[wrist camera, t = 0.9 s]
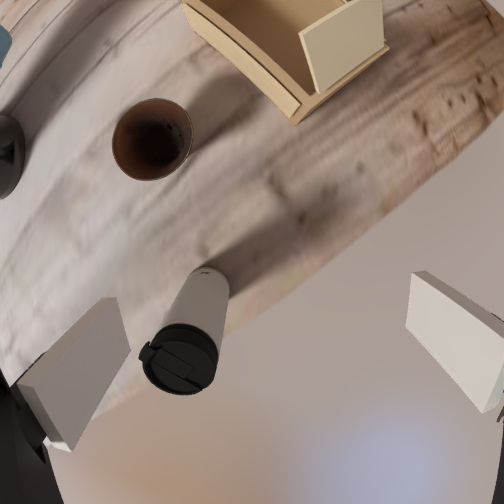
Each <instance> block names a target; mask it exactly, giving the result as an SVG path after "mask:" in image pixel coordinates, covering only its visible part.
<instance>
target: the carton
mask: <svg viewBox="0 0 504 504" xmlns="http://www.w3.org/2000/svg"><path fill="white" fill-rule="evenodd" d="M182 2H183V4H182V5H181V6H182V8H183V11H184V13H185V15H186V18H187V20H188V22H189V25H190V27H191V29H193V30H194V32H195V33H197V34H198V35H199V36H200V37H202V38H203V39H204V40H205V41H206V42H208V43H209V44H210V45H211V46H212V47H214V48H215V49H216V50H217V51H218V52H219V53H220V54H222V55H223V56H224V57H225V58H226V59H227V60H228V61H230V62H231V63H232V64H233V65H234V66H235V67H236V68H237V69H238V70H239V71H241V72H242V73H243V74H244V75H245V76H246V77H247V78H248V79H249V80H250V81H251V82H252V83H253V84H254V85H255V86H256V87H257V88H259V89H260V90H261V91H262V92H263V93H264V94H265V95H266V96H267V97H268V98H269V99H270V100H271V101H272V102H273V103H274V104H275V105H276V106H277V107H278V108H279V109H280V110H281V112H282V113H283V114H284V115H285V116H286V117H287V118H288V119H289V120H290V121H291V122H292V123H293V124H294V125H295V126H296V125H297V124H298V123H299V122H300V121H302V120H303V119H304V118H305V117H306V116H308V115H309V114H310V113H311V112H313V111H314V110H315V109H316V108H317V107H319V106H320V105H321V104H322V103H324V102H325V101H326V100H327V99H328V98H330V97H331V96H332V95H334V94H335V93H336V92H337V91H339V90H340V89H341V88H342V87H344V86H345V85H346V84H347V83H349V82H350V81H351V80H353V79H354V78H355V77H357V76H358V75H359V74H360V73H362V72H363V71H364V70H365V69H366V68H367V67H369V66H370V65H371V64H372V63H373V62H375V61H376V60H377V59H378V58H379V57H380V56H382V55H383V54H384V53H385V52H386V51H388V50H389V49H390V48H389V47H388V46H387V44H386V43H385V41H386V39H385V37H384V47H383V48H381V49H380V50H379V51H377V52H376V53H374V54H373V55H372V56H370V57H369V58H367V59H366V60H365V61H363V62H362V63H361V64H359V65H358V66H356V67H355V68H354V69H352V70H351V71H350V72H348V73H347V74H346V75H344V76H343V77H342V78H341V79H339V80H338V81H337V82H335V83H334V84H333V85H331V86H330V87H329V88H328V89H326V90H325V91H324V92H323V93H321V94H319V93H317V92H316V89H315V85H314V82H313V78H312V75H311V72H310V68H309V65H308V62H307V59H306V55H305V52H304V49H303V46H302V43H301V40H300V37H299V34H298V33H299V32H301V31H302V30H304V29H305V28H307V27H308V26H310V25H311V24H313V23H315V22H316V21H318V20H319V19H321V18H323V17H324V16H326V15H328V14H329V13H331V12H333V11H334V10H336V9H338V8H339V7H341V6H343V5H345V4H346V3H348V2H347V1H346V0H182Z"/></svg>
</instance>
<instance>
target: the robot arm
mask: <svg viewBox="0 0 504 504" xmlns="http://www.w3.org/2000/svg"><path fill="white" fill-rule="evenodd" d="M11 44H12V37H11V35H10V33H9V32H8V31H7V30H6V29H5V28H4V27H3V26H1V25H0V69H1V67H2V63H3V61H4V59H5V57H6V55H7V53H8V51H9V49H10V47H11ZM24 157H25V141H24V135H23V131H22V128H21V126H20V124H19V123H18V121H17V120H16V119H14V118H13V117H10V116H5V115H0V200H1V199H4V198H5V197H7V196H8V195H9V194H10V193H11V192H12V191H13V189H14V188H15V186H16V184H17V182H18V180H19V178H20V175H21V172H22V168H23V164H24ZM406 328H407V329H408V330H409V331H410V332H411V333H412V334H413V335H414V336H415V337H416V338H417V339H418V341H419V342H420V343H421V344H422V345H423V346H424V347H425V348H426V349H427V350H428V351H429V352H430V354H431V355H432V356H433V357H434V358H435V359H436V360H437V361H438V362H439V364H440V365H441V366H442V367H443V368H444V369H445V371H446V372H447V373H448V374H449V375H450V376H451V377H452V378H453V380H454V381H455V382H456V383H457V384H458V385H459V387H460V388H461V389H462V390H463V391H464V392H465V394H466V395H467V396H468V397H469V398H470V400H471V401H472V402H473V403H474V404H475V406H476V407H477V408H478V409H479V410H480V412H481V413H484V412H486V411H488V410H490V409H492V408H494V407H496V406H497V405H498V402H499V400H500V398H501V396H502V393H503V392H504V321H502V320H501V319H500V318H498V317H497V316H496V315H494V314H492V313H490V312H488V311H486V310H485V309H484V308H482V307H481V306H479V305H478V304H476V303H475V302H473V301H472V300H470V299H469V298H467V297H466V296H464V295H463V294H461V293H460V292H458V291H457V290H455V289H453V288H452V287H450V286H449V285H447V284H446V283H444V282H442V281H441V280H439V279H437V278H436V277H435V276H433V275H431V274H430V273H428V272H426V271H420V272H413V273H412V278H411V288H410V297H409V306H408V314H407V321H406ZM130 351H131V349H130V346H129V343H128V339H127V336H126V332H125V329H124V325H123V321H122V317H121V314H120V310H119V306H118V302H117V297H115V298H102V299H100V300H99V301H98V302H97V303H96V304H95V305H94V306H93V307H92V308H91V309H90V310H89V311H88V312H87V313H85V314H84V315H83V316H82V317H81V318H80V319H79V320H78V321H77V322H76V323H75V324H74V325H73V326H72V327H71V328H70V329H69V330H68V331H67V332H66V333H65V334H64V335H63V336H62V337H61V338H60V339H59V340H58V341H57V342H56V343H55V344H54V345H53V346H52V347H51V348H50V349H49V350H48V351H46V352H45V353H43V354H41V355H40V356H39V357H38V359H37V360H36V361H35V362H34V363H33V364H32V365H31V366H30V367H29V369H27V370H26V371H25V372H24V373H23V374H22V375H21V376H20V377H19V378H18V379H17V380H16V381H15V383H14V384H13V385H12V386H11V387H9V385H8V383H7V381H6V379H5V377H4V375H3V373H2V371H1V369H0V504H64V502H63V500H62V497H61V494H60V491H59V488H58V486H57V482H56V479H55V476H54V472H53V469H52V466H51V462H50V459H49V455H48V451H47V448H46V446H45V445H44V443H43V440H44V439H45V437H46V436H47V437H48V438H49V440H50V441H51V443H52V444H53V446H54V447H55V448H58V449H62V450H65V451H69V452H73V450H74V448H75V446H76V444H77V442H78V441H79V439H80V437H81V435H82V433H83V431H84V430H85V428H86V426H87V424H88V422H89V421H90V419H91V417H92V415H93V414H94V412H95V410H96V408H97V407H98V405H99V403H100V401H101V400H102V398H103V396H104V394H105V393H106V391H107V389H108V388H109V386H110V384H111V383H112V381H113V379H114V378H115V376H116V374H117V373H118V371H119V369H120V368H121V366H122V364H123V363H124V361H125V359H126V358H127V356H128V354H129V353H130ZM503 416H504V407H503V409H502V411H501V413H500V415H499V417H498V419H497V422H499V421H500V419H501V417H503ZM503 423H504V421H503ZM492 504H504V426H503V438H502V448H501V456H500V463H499V469H498V475H497V481H496V486H495V491H494V495H493V500H492Z"/></svg>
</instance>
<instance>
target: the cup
mask: <svg viewBox="0 0 504 504" xmlns="http://www.w3.org/2000/svg"><path fill="white" fill-rule="evenodd" d="M192 141H193V127H192V123H191V120H190V117H189V115H188V114H187V112H186V111H185V110H184V109H183V108H182V107H181V106H179V105H178V104H176V103H174V102H172V101H170V100H166V99H159V98H154V99H148V100H145V101H142V102H139V103H137V104H136V105H134V106H133V107H131V108H130V109H129V110H128V111H126V112H125V113H124V114H123V116H122V117H121V118H120V120H119V121H118V123H117V125H116V128H115V130H114V133H113V138H112V152H113V156H114V159H115V161H116V163H117V165H118V166H119V167H120V169H121V170H122V171H123V172H124V173H125V174H127V175H128V176H129V177H131V178H133V179H136V180H141V181H152V180H158V179H161V178H164V177H166V176H168V175H170V174H171V173H173V172H174V171H175V170H176V169H177V168H179V167H180V166H181V164H182V163H183V162H184V161H185V159H186V158H187V156H188V155H189V152H190V149H191V146H192Z"/></svg>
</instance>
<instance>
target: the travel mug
mask: <svg viewBox="0 0 504 504" xmlns="http://www.w3.org/2000/svg"><path fill="white" fill-rule="evenodd" d="M229 294H230V284H229V281H228V279H227V277H226V276H225V275H224V274H223V273H222V272H221V271H219V270H217V269H215V268H212V267H201V268H198V269H196V270H194V271H193V272H192V273H191V274H190V275H189V276H188V278H187V280H186V281H185V283H184V285H183V286H182V288H181V290H180V292H179V293H178V295H177V297H176V298H175V300H174V302H173V304H172V305H171V307H170V309H169V310H168V312H167V314H166V316H165V317H164V319H163V321H162V323H161V324H160V326H159V328H158V330H157V332H156V333H155V335H154V337H153V340H152V342H151V344H150V342H149V341H148V342H147V343H146V344H145V345H144V346H143V348H142V349H141V351H140V354H139V357H138V358H139V360H141V361H142V362H143V363H142V364H143V370H144V373H145V375H146V376H147V378H148V379H149V381H150V382H151V383H152V384H154V385H155V386H156V387H158V388H159V389H161V390H163V391H165V392H168V393H172V394H175V395H192V394H196V393H198V392H200V391H202V389H204V388H206V387H208V386H209V385H210V384H211V383H212V381H213V380H214V376H215V372H216V368H217V364H218V360H219V354H220V348H221V342H222V336H223V330H224V324H225V318H226V312H227V306H228V300H229ZM149 344H150V346H149Z"/></svg>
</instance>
